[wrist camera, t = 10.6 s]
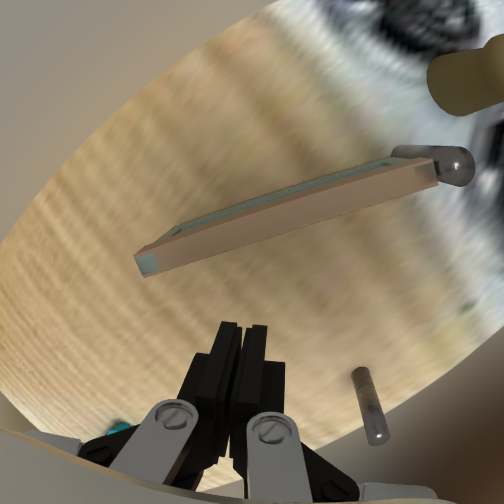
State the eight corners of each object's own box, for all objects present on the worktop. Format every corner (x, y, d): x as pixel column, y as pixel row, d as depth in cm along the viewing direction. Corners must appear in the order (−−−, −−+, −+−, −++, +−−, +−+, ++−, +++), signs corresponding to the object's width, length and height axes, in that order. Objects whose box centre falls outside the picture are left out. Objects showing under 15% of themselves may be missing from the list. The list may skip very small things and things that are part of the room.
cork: (472, 127, 22) (551, 127, 12) (421, 99, 22) (493, 81, 12) (481, 73, 20) (554, 55, 10) (431, 44, 20) (497, 7, 10)
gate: (388, 154, 23) (432, 158, 16) (393, 173, 24) (438, 185, 16) (172, 225, 27) (133, 255, 19) (179, 242, 27) (143, 278, 19)
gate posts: (416, 147, 24) (476, 151, 15) (368, 380, 31) (387, 444, 22) (392, 143, 24) (446, 143, 15) (348, 380, 32) (363, 446, 22)
